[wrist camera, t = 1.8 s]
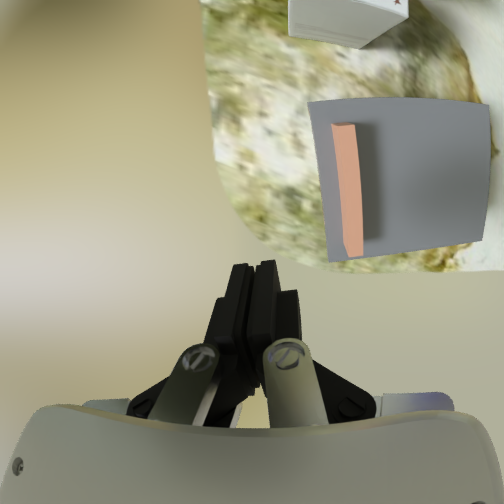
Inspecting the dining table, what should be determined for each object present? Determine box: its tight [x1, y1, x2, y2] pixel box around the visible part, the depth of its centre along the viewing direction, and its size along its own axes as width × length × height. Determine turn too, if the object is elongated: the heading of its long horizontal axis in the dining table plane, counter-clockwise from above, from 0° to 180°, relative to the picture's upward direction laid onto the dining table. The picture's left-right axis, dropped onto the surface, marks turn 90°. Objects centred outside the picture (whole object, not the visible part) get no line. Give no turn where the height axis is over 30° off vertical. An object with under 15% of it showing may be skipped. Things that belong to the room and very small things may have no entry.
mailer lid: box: [307, 97, 491, 262], centre depth 19 cm, size 17×14×3 cm
